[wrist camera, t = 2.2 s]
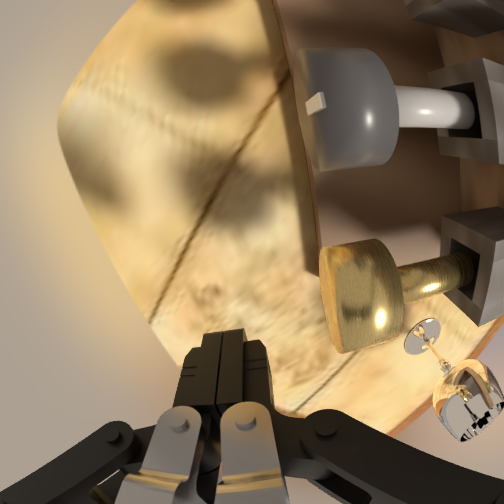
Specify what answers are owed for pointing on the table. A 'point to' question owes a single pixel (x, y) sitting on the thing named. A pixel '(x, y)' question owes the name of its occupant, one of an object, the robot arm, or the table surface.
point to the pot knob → (363, 107)
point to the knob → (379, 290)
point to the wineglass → (459, 387)
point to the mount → (420, 137)
